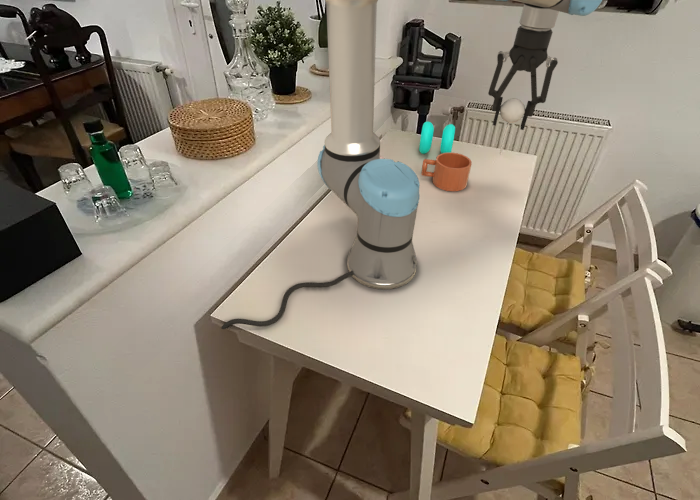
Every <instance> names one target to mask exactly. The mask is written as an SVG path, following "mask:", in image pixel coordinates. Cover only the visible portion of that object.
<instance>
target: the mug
mask: <svg viewBox="0 0 700 500" xmlns="http://www.w3.org/2000/svg"><path fill="white" fill-rule="evenodd" d="M429 165H431V166H434V169H433V171H428V166H429ZM472 165H473V163H472V160H471V158H469V157H468V156H466V155H464V154H463V153H462V154H461V153H459V152H451V153H442V154H441V153H439V154H438V155H437V156H436V158H435V159H429V158H424V159H423V160H422V164H421V173H420V174H421V176H422V177H429V178H432V184H433V185H434V186H435V187H437V188H438V189H440V190H443V191H447V192H460V191H463V190H464V189H466V187H467V185H468V181H469V177H470V174H471V168H472Z"/></svg>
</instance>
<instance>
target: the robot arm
mask: <svg viewBox="0 0 700 500" xmlns="http://www.w3.org/2000/svg"><path fill="white" fill-rule="evenodd" d="M324 1H325V4H326V29H327V54H328V55H327V56H328V79H329V103H330V104H329V105H330V129H331V131H330V133H329V134H328V135H326V137H325V139H324V144H323V146H322V150H320V151H319V153H318V156H317V161H316V162H317V163H316V164H317V165H316V167H317V171H318V175H319V177H320V179H321V180H322V182H323V183H324V184H325V186H326V187H327V188H328V189H329V190H330V191H332V192H333V193H334V195H336V196H337V197H338V198H339V199H340V200H341V201H342V202H343V203H344V204H345V205H346V206H347V207H348V208H349V209H350V210H351V211H352V212H353V213H354V214H355V215H356V217H357V224H356V236H355V238H354V241H353V244H352V246H351V248H350V249H349V251H348V255H347V259H346V260H347V262H346V263H347V264H346V265H347V266H346V267H347V270H348V272H346V273H344V274H342V275H340V276H339V277H336V278H335V279H333V280H330V281H325V282H324V281H323V282H313V281H312V282H311V281H310V282H300V283H296V284H294V285H292V286H291V287H289V288H288V289H287V290H286V292H285V293H284V295H283V297H282V301H281V305H280V309H279V310H278V312H277V313H276V315H275V316H274V317H272V318H271V319H268V320H260V321H259V320H253V319H247V318H233V319H230V320H228V321H226V322H225V323H224V324H223V325H222V326H221V328H220V329H221V330H227V329H228V328H229V327H231V326H233V325H238V324H240V325H248V326H252V327H267V326H271V325H273V324H275V323H277V322H278V321H279V320H280V319H281V318H282V317H283V315H284V312H285V310H286V308H287V304H288V300H289V297H290V295H291V294H292V293H293V292H295V291H296V290H299V289H301V288H327V287H332V286H334V285H337V284H339V283H341V282H342V281H344V280H346V279H348V278H350V277H352V278H353V280H355V281H356V282H358V283H359V284H361V285H362V286H365V287H368V288H371V289H376V290H394V289H397V288H400V287H403V286H405V285H407V284H408V283H410V282H411V281H412V280H413V279H414V277H415V275H416V272H417V267H418V260H417V255H416V252H415V247H414V243H413V235H414V232H415V231H414V230H415V225H416V220H417V213H418V207H419V203H420V197H421V196H420V186H421V185H420V180H419V177H418V175H417V173H416V172H415V171H414V170H413V169H412V168H411V167H410V166H409V165H407V164H406V163H403V162H401V161H394V159H391V158H385V159H380V156H381V139H380V137H379V136H378V134H376V133H375V132H374V119H375V117H374V115H375V113H374V112H375V84H376V82H375V80H376V79H375V78H376V48H377V47H376V46H377V43H376V42H377V40H376V39H377V11H378V10H377V6H378V1H379V0H324ZM495 1H497V2H498V1H500V2H508V1H509V0H495ZM512 1H514V2H518V3H523V6H522V11H521V15H520V18H519V22H518V23H519V25H520V26H518V27H517V29H516V34H515V37H514V42H513V46H512V47H511V48H510V49H509V50H508V51H502V50H499V52H498V53H497V56H496V57H497V58H496V61H497V64H496V67H495V70H494V73H493V77H492V80H491V83H490V86H489V89H488V96H490V97H493V103H492V107H491V111H492V112H495V113H494V117H493V121H492V126H495V127H496V125H497V122H498V118H499V114H500V107H501V105H502V104H503V100H504V99H503V94H504V92H505V91H506V89H507V88H508V86H509V84H510V82H511V81H512V80H513V78H514V76H515V75H516V73H518V71H519V72H523V71H524V72H527V73H530V90H531V91H530V92H531V100H527V103H526V105H525V106H526V107H525V114H524V115H523V117H522V118H521V119H522V120H521V122H520V130H521V131H524V130H525V126H526V123H527V120H528V117H530V118H532V117H533V115H534V113H535V110H536V106H537V105H538V104H545V103H546V101H547V97H548V92H549V89H550V84H551V80H552V76H553V72H554V70H555V69H556V67H557V65H558V63H559V61H558V58H557V57H551V56H549V55H548V48H549V46H550V42H551V39H552V36H553V30H552V29H553V28H554V27H555V26H556V23H557V19H558V15H559V13H564V14H568V15H571V16H578V17H579V16H580V17H586V16H589V15H590V14H592V13H593V12H595V10H597V9H598V7H599V6H600V5H601V3H602V2H603V0H512ZM508 58H510V61H511V63H512V65H511V68H510V69H509V71H508V73H506V75H505V77H504V79H503V80H502V82H501V84H500V86H499V87H498V89H497V90H496V88H497V84H498V81H499V78H500V75H501V72H502V68H503V65H504V63H505V62H507V59H508ZM543 63H545V67H546V70H545V74H544V79H543V83H542V88H541V92H540V95H538V84H537V69H538V68H539V67H540V66H541V65H542V64H543Z"/></svg>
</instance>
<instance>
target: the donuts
mask: <svg viewBox="0 0 700 500" xmlns="http://www.w3.org/2000/svg"><path fill="white" fill-rule="evenodd" d="M434 132H435V126H434V124H433V123H432V122H431V121H429V120H428V121H425V122H424V123H423V124H422V127H421V133H420V137H419V146H418V147H419V148H418V151H419V153H420V154H422V155H426V154H428V153H429V152H430V150H431V148H432V145H433V138H434V134H435V133H434ZM455 133H456V127H455V125H454V124H453V123H449V124H446V125H445V127H444V128H443V130H442V135H441V140H440V141H441V142H440V146H439V152H440V154H442V153H452V151H453V146H454V141H455V140H454V139H455Z"/></svg>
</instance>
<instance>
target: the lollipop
mask: <svg viewBox="0 0 700 500" xmlns="http://www.w3.org/2000/svg"><path fill="white" fill-rule="evenodd" d="M525 106H526V105H525V104H524V102H523V101H522V100H521V99H519V98H515V97H512V98H509V99H506V100H505V101H504V102H502V103H501V107H500V111H499V114H500V118H501V120H503V121H504V122H506V123H507V125H506V129H505V131H504V135H503V140H502V143H501V146H500V150H499V155H500V156H501V155H502V152H503V149H504V145H505V142H506V139H507V135H508V131H509V127H510V124H513V123H517V122H519V121H520V120H521V119H523V116H524V114H525V109H526V107H525Z"/></svg>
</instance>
